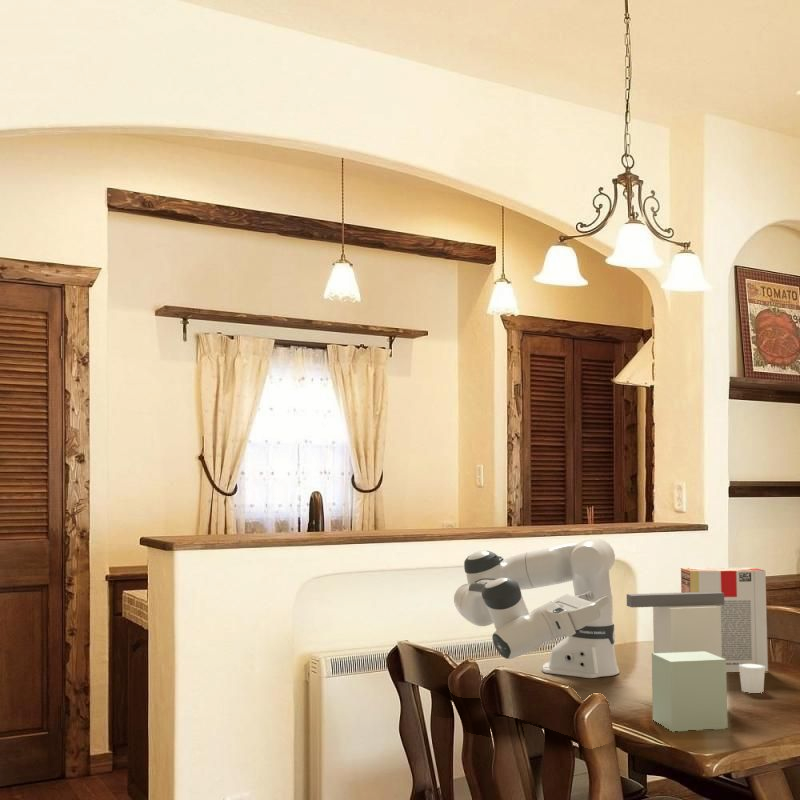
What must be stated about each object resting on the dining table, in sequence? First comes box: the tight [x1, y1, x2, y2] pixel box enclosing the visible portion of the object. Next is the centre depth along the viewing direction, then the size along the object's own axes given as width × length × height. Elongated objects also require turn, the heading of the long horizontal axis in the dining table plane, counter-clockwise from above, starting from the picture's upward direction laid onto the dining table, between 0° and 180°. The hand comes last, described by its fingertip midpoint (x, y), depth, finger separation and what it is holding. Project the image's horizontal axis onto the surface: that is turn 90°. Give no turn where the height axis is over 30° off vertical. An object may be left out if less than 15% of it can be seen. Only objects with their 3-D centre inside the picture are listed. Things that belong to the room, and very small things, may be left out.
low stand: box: [651, 651, 728, 733], centre depth 228 cm, size 14×10×16 cm
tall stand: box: [652, 605, 722, 658], centre depth 250 cm, size 14×10×25 cm
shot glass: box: [739, 663, 766, 694], centre depth 261 cm, size 7×7×7 cm
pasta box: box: [680, 567, 769, 672], centre depth 289 cm, size 23×8×30 cm, turn 93°
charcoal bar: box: [626, 592, 724, 608], centre depth 250 cm, size 26×3×3 cm, turn 101°
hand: (599, 596), depth 247 cm, fingers open, 8 cm apart
